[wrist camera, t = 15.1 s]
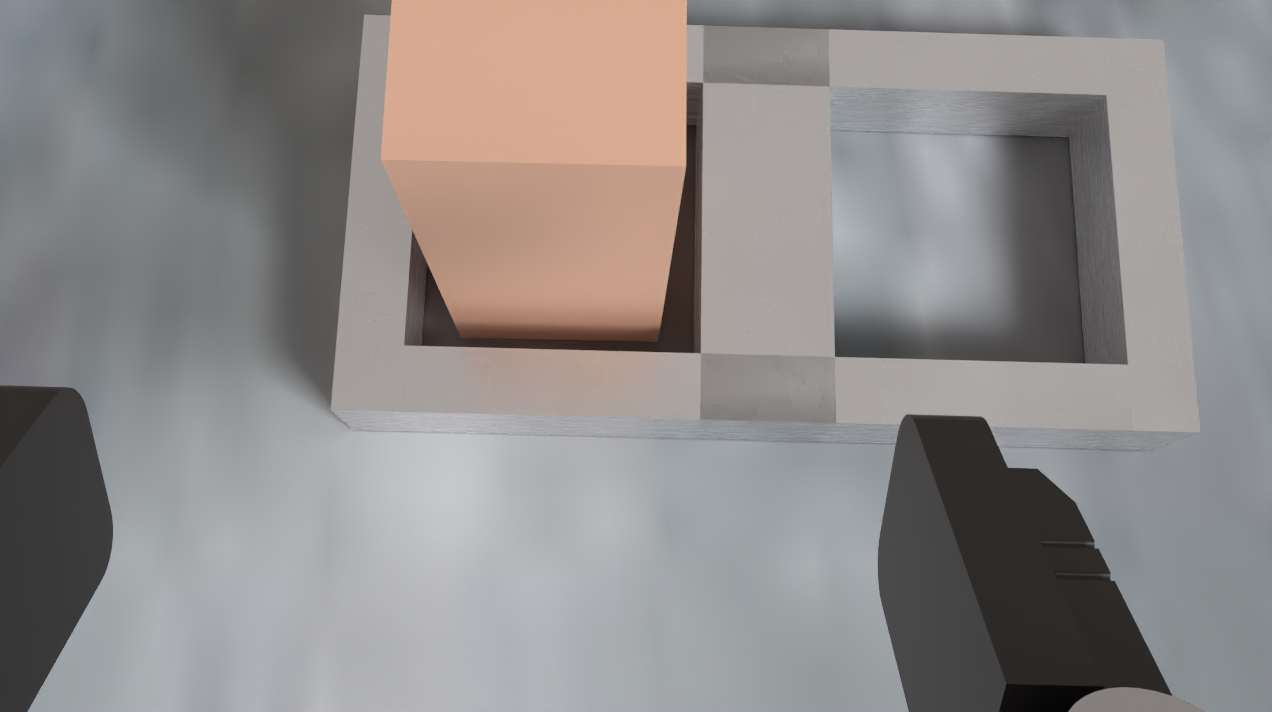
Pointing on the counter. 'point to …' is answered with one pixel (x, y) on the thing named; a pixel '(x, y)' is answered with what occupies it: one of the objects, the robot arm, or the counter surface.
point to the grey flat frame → (814, 258)
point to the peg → (541, 159)
